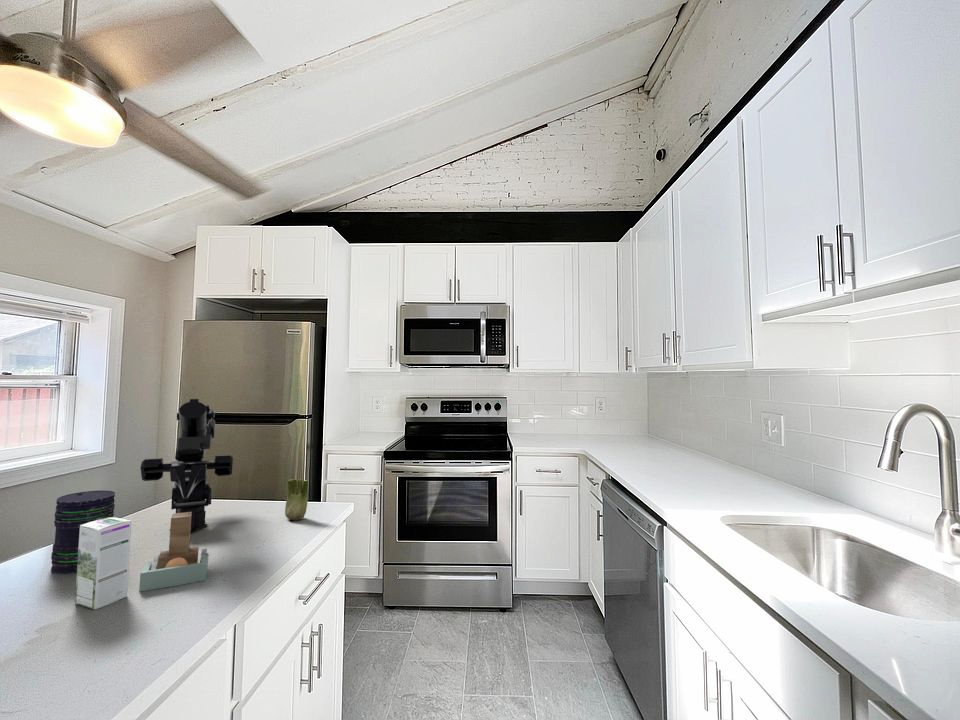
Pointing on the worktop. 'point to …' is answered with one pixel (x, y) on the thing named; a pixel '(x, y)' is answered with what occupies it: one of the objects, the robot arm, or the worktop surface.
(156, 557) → the rails
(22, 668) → the worktop surface
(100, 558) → the syrup box
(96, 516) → the storage jar
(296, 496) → the fennel bulb
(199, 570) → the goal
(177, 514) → the kicker
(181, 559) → the ball
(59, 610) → the worktop surface
